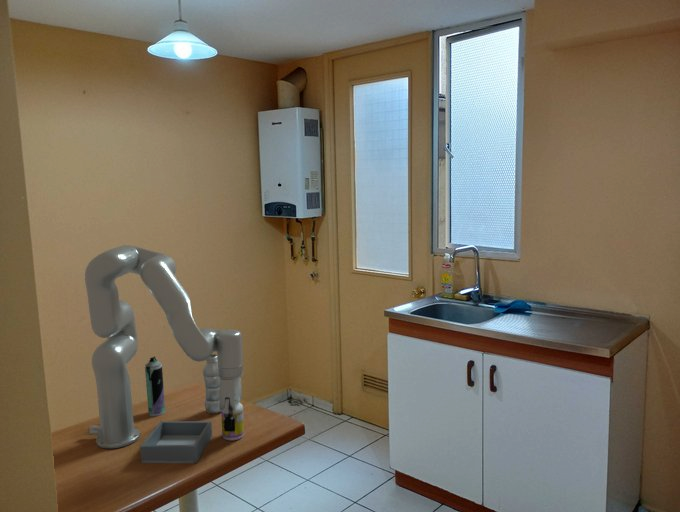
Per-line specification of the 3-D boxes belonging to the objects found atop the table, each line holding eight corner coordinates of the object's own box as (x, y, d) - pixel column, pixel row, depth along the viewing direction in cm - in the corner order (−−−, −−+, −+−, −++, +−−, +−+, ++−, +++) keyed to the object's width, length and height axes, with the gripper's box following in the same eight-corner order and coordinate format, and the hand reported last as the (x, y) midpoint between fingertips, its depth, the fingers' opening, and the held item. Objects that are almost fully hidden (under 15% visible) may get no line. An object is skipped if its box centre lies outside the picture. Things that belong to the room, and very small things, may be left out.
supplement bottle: (217, 438, 171) (216, 398, 169) (232, 429, 177) (230, 391, 175) (234, 443, 168) (232, 403, 166) (248, 434, 173) (247, 395, 171)
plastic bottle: (220, 416, 187) (217, 359, 184) (201, 415, 188) (198, 358, 185) (227, 408, 193) (225, 353, 190) (209, 407, 194) (206, 352, 191)
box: (141, 462, 157) (140, 446, 157) (161, 436, 173) (160, 421, 173) (196, 463, 157) (195, 446, 156) (212, 436, 173) (211, 421, 172)
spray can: (162, 416, 188) (158, 359, 185) (146, 416, 188) (141, 360, 185) (167, 409, 193) (163, 354, 190) (151, 409, 193) (147, 354, 190)
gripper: (225, 360, 178) (227, 413, 180) (210, 380, 161) (213, 438, 163) (248, 360, 177) (250, 413, 180) (236, 381, 160) (238, 438, 163)
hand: (232, 424), depth 172 cm, fingers closed on supplement bottle, 6 cm apart
